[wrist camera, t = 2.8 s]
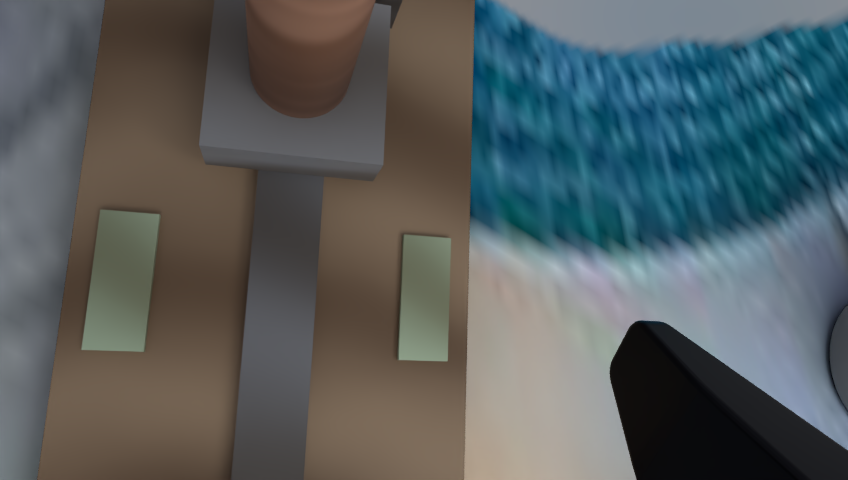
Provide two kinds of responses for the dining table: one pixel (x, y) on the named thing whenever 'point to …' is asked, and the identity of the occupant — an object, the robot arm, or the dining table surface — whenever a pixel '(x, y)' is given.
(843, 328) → the travel mug
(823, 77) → the dining table surface
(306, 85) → the handle
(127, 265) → the press base
